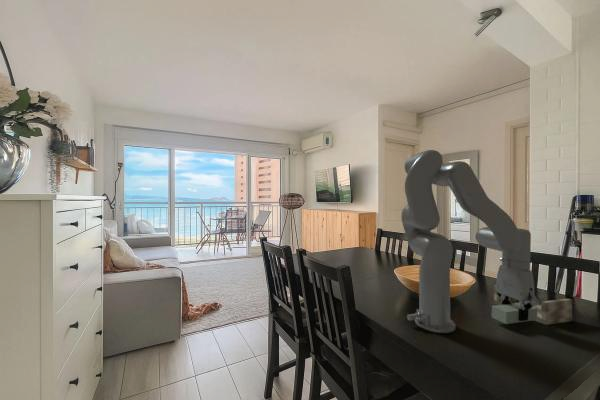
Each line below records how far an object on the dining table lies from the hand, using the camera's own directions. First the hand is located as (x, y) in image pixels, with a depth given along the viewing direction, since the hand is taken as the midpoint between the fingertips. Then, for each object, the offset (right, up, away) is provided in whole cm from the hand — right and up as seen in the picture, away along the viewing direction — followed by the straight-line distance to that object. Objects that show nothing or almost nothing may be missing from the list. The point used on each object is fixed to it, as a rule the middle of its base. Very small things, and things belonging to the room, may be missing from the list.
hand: (514, 315), depth 91 cm
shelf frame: (+13, -2, +9) cm, 16 cm away
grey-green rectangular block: (0, -1, 0) cm, 1 cm away
